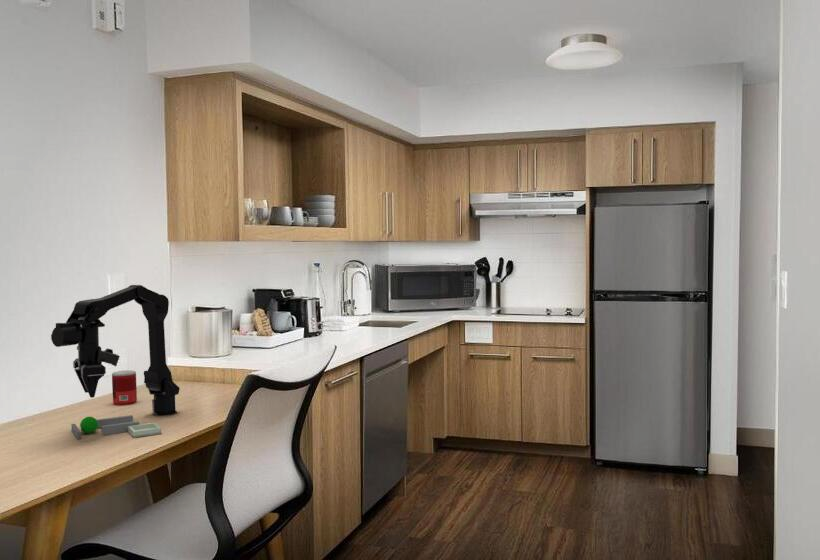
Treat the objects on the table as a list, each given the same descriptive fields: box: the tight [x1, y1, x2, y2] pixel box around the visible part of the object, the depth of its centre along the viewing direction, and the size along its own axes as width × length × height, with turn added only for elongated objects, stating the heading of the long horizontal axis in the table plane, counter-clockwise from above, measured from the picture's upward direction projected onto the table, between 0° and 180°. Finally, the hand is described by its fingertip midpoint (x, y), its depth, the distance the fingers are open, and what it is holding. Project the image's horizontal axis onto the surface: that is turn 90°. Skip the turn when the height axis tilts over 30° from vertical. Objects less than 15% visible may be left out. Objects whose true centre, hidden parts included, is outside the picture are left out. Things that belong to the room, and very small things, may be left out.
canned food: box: [111, 369, 138, 406], centre depth 266 cm, size 8×8×11 cm
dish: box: [127, 422, 163, 439], centre depth 225 cm, size 8×8×2 cm
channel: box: [70, 414, 140, 440], centre depth 228 cm, size 18×12×2 cm
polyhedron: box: [79, 416, 98, 434], centre depth 226 cm, size 5×5×5 cm
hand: (89, 394), depth 225 cm, fingers open, 9 cm apart
